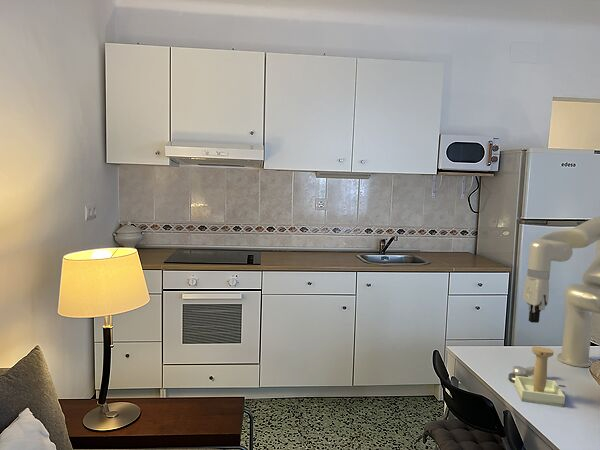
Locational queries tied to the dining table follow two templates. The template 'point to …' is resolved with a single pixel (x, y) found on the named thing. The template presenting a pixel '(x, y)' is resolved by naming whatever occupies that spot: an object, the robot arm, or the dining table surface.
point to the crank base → (512, 378)
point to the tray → (549, 396)
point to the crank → (523, 371)
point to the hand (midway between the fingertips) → (533, 321)
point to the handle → (541, 367)
